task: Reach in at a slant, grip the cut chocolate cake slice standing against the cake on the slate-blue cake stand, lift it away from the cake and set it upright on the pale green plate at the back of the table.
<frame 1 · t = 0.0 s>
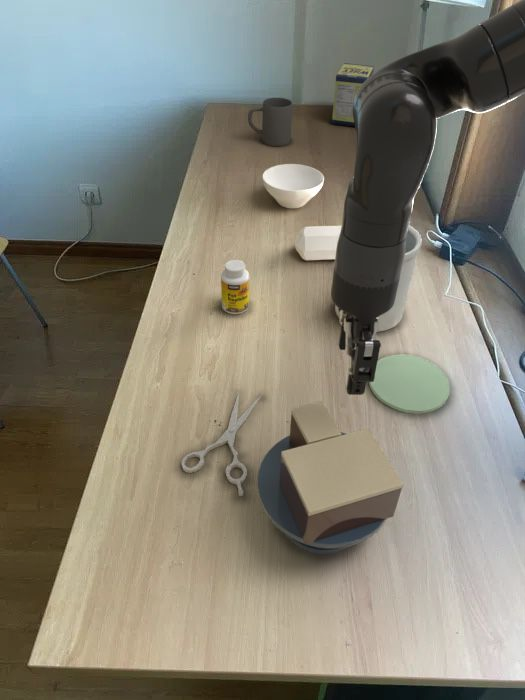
hand: (350, 369, 74), 19 cm above the table, tool pointing down, fingers open, 8 cm apart
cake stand: (320, 514, 80), on the table
crystal: (344, 253, 131), on the table
bowl: (291, 202, 150), on the table
supplement bottle: (235, 308, 115), on the table
utensil holder: (367, 311, 115), on the table
cake slice: (311, 454, 78), point 8 cm above the table, touching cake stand
plate: (408, 384, 99), on the table
mug: (269, 141, 180), on the table
scissors: (231, 437, 90), on the table
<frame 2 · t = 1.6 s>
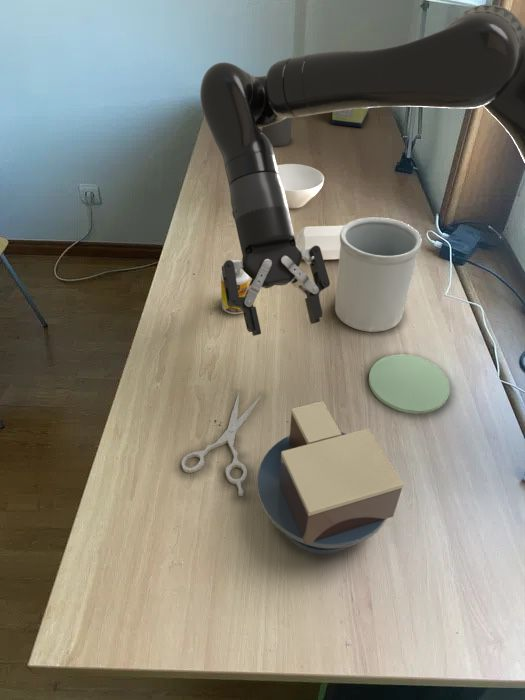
hand: (286, 328, 77), 21 cm above the table, tool tilted 45°, fingers open, 8 cm apart
nothing on the table moved.
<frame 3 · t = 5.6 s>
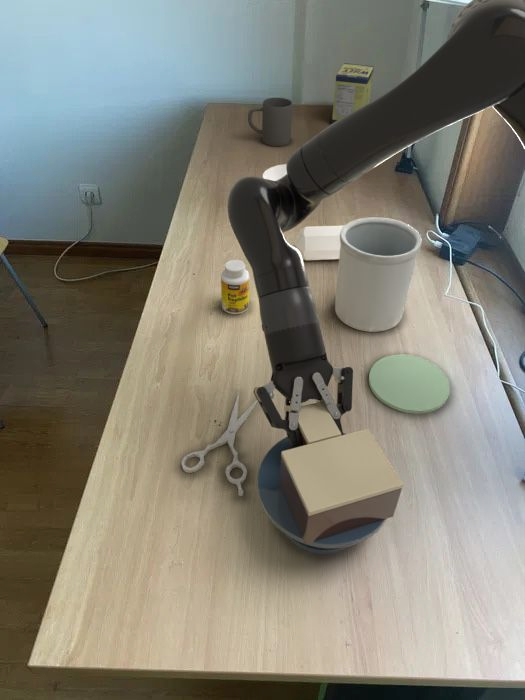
hand: (319, 451, 74), 11 cm above the table, tool tilted 45°, fingers closed on cake slice, 4 cm apart
cake slice: (312, 454, 78), point 8 cm above the table, touching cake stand, gripper
everything else where it was.
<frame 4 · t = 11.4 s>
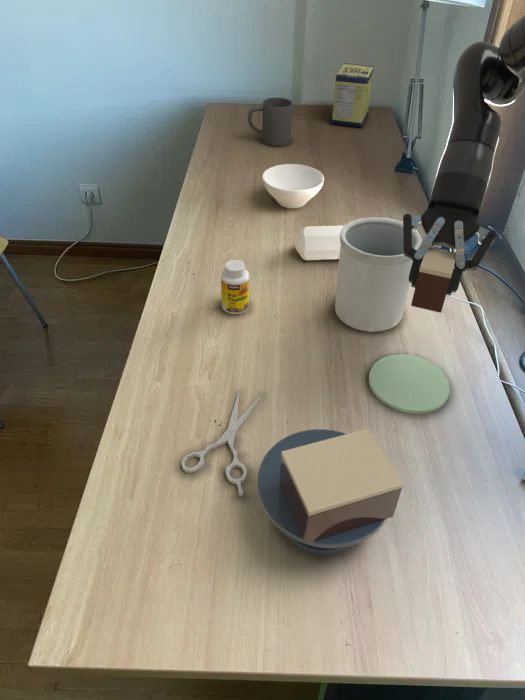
hand: (431, 289, 83), 22 cm above the table, tool tilted 45°, fingers closed on cake slice, 4 cm apart
cake slice: (429, 298, 87), point 19 cm above the table, touching gripper
everything else where it was.
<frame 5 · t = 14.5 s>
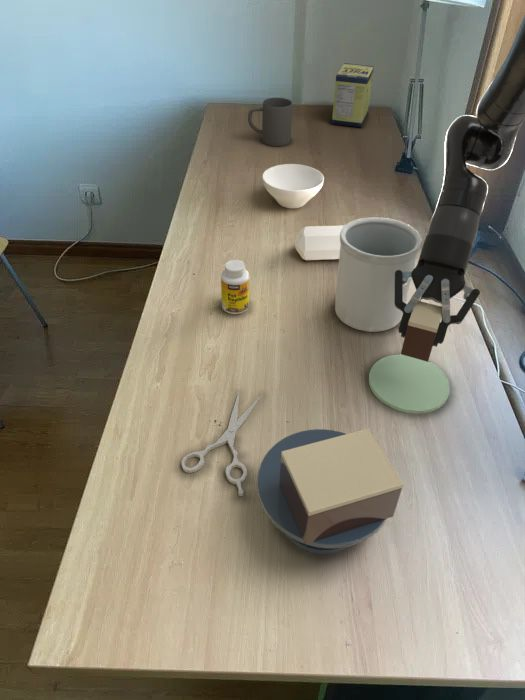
hand: (419, 340, 90), 12 cm above the table, tool tilted 45°, fingers closed on cake slice, 4 cm apart
cake slice: (417, 347, 94), point 9 cm above the table, touching gripper
everything else where it was.
when the fingers open (4 cm above the table, at t = 17.1 s): cake slice stays where it is, resting on plate.
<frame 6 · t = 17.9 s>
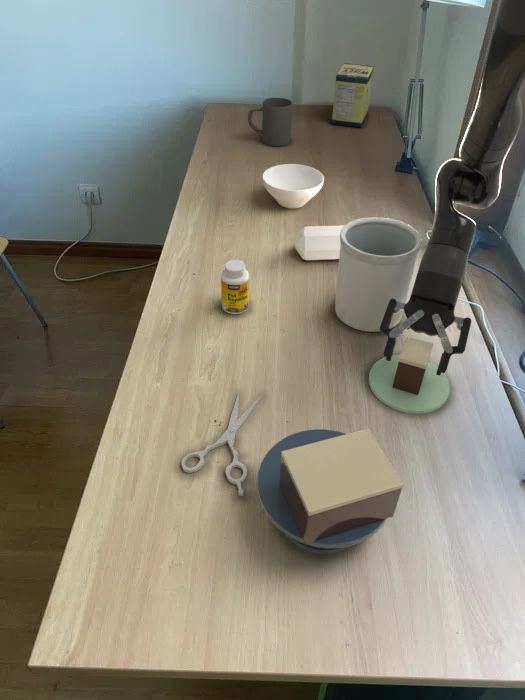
hand: (412, 367, 95), 5 cm above the table, tool tilted 45°, fingers open, 8 cm apart
cake slice: (408, 380, 99), point 1 cm above the table, touching plate
everything else where it was.
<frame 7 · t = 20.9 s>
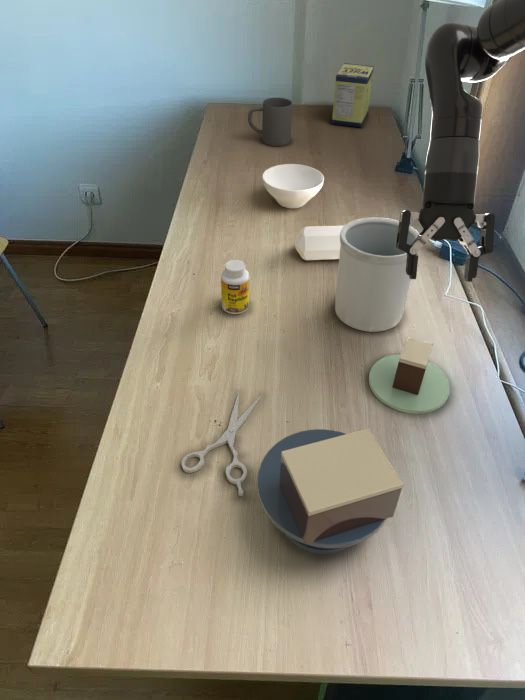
hand: (440, 280, 88), 20 cm above the table, tool tilted 30°, fingers open, 8 cm apart
nothing on the table moved.
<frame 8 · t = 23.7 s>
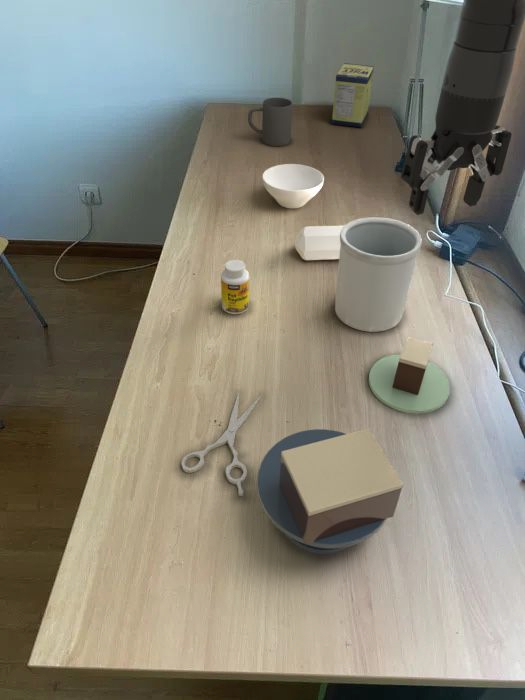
hand: (443, 207, 79), 33 cm above the table, tool pointing down, fingers open, 8 cm apart
nothing on the table moved.
at the end: cake slice inside the target area on the plate (0.2 cm from its centre), point 0.8 cm above the plate's base; cake slice tilted 0°; the gripper is holding nothing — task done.
